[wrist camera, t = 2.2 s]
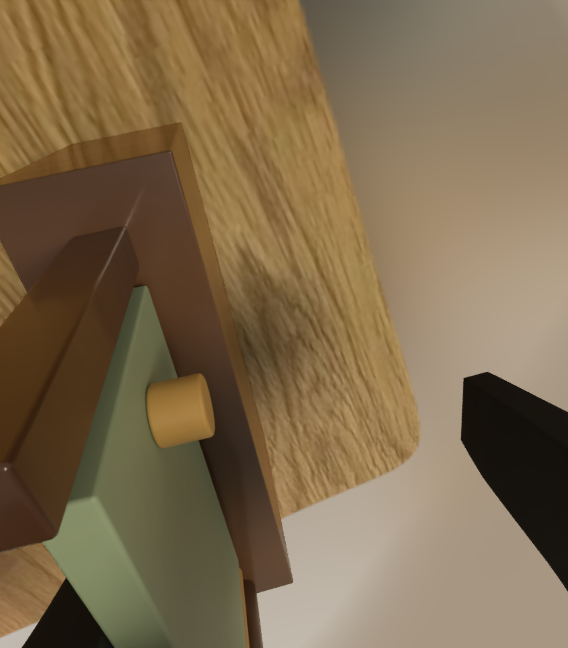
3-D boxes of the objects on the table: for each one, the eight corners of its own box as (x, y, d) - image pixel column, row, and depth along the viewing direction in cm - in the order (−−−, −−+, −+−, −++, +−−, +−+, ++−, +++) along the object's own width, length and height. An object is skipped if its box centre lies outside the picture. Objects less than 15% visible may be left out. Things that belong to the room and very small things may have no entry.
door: (271, 569, 16) (308, 805, 11) (222, 581, 16) (235, 828, 10) (191, 275, 10) (187, 476, 5) (112, 291, 10) (20, 517, 5)
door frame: (265, 439, 24) (348, 859, 11) (192, 457, 24) (189, 912, 11) (181, 122, 16) (123, 279, 3) (70, 144, 16) (-525, 426, 3)
